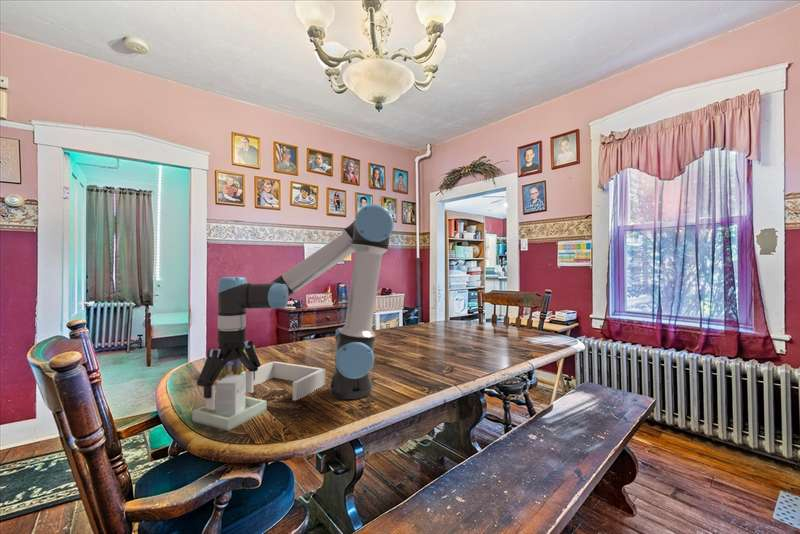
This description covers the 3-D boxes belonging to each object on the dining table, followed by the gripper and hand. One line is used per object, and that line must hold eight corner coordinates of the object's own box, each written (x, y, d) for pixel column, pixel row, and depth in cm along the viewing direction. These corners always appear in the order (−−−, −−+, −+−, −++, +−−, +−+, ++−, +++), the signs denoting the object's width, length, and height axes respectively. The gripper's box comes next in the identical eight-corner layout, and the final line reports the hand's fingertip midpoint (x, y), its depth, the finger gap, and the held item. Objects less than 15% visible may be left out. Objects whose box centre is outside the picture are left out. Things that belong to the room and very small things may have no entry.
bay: (325, 384, 126) (325, 368, 126) (296, 400, 110) (296, 382, 110) (273, 375, 135) (273, 361, 135) (240, 389, 120) (240, 372, 120)
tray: (266, 410, 103) (266, 400, 103) (227, 431, 90) (228, 419, 90) (233, 402, 108) (233, 393, 108) (192, 421, 95) (192, 410, 95)
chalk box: (241, 378, 131) (241, 341, 131) (221, 376, 133) (221, 340, 133) (255, 371, 140) (256, 336, 140) (236, 369, 142) (237, 335, 142)
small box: (227, 408, 103) (227, 374, 103) (245, 407, 103) (246, 373, 103) (214, 420, 95) (215, 383, 95) (234, 419, 95) (235, 383, 95)
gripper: (255, 321, 112) (254, 384, 112) (182, 335, 89) (181, 414, 89) (272, 323, 109) (271, 387, 109) (201, 337, 86) (200, 419, 86)
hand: (231, 399), depth 99 cm, fingers open, 13 cm apart
